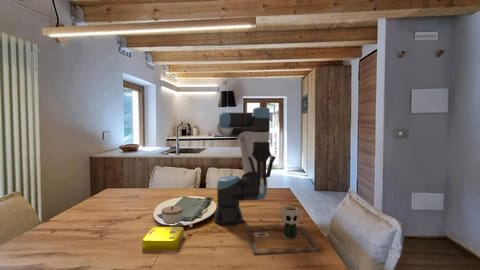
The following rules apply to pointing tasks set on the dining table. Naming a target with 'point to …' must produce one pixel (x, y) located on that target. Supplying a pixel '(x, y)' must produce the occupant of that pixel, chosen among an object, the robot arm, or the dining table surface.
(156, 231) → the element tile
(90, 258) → the dining table surface
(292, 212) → the character mug
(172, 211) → the lidded jar
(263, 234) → the label frame
